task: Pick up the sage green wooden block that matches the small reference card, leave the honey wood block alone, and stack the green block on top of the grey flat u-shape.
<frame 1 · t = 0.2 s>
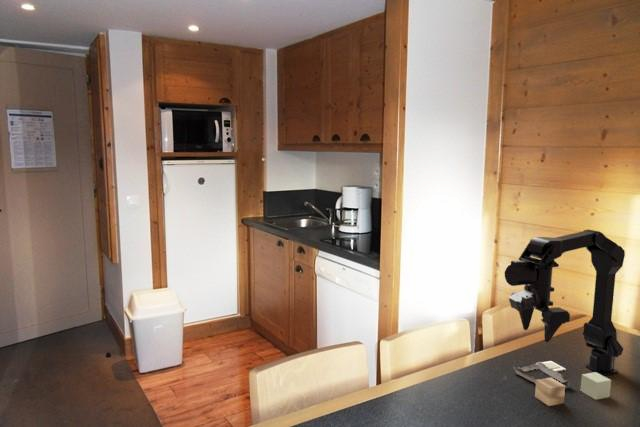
hand: (535, 335, 139), 14 cm above the table, tool pointing down, fingers open, 9 cm apart
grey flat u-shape: (541, 381, 143), on the table
sage block: (594, 394, 135), on the table
reference card: (550, 367, 152), on the table
honey block: (549, 400, 131), on the table
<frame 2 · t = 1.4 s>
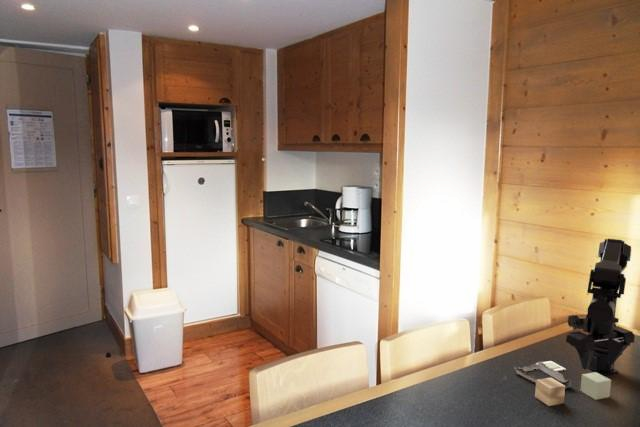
hand: (597, 367, 134), 8 cm above the table, tool pointing down, fingers open, 9 cm apart
nothing on the table moved.
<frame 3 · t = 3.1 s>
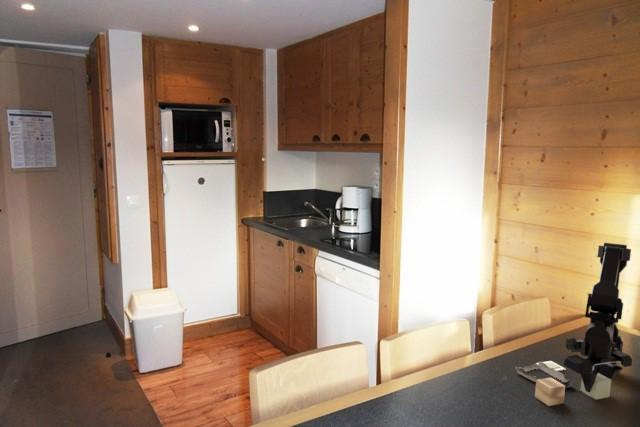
hand: (595, 390, 135), 1 cm above the table, tool pointing down, fingers closed on sage block, 5 cm apart
sage block: (594, 393, 135), on the table, touching gripper
everything else where it was.
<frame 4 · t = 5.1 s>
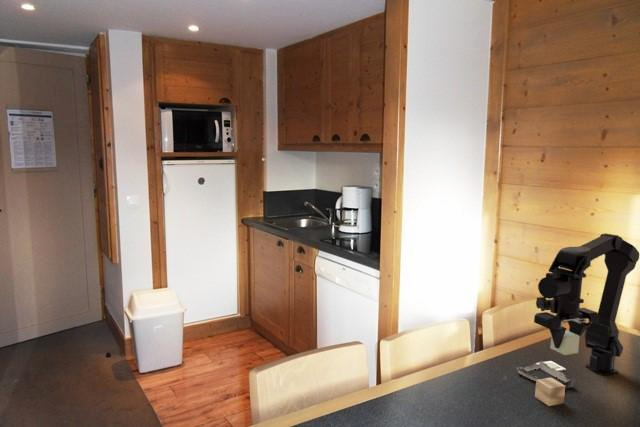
hand: (564, 346, 138), 11 cm above the table, tool pointing down, fingers closed on sage block, 5 cm apart
sage block: (564, 350, 139), point 10 cm above the table, touching gripper
everything else where it was.
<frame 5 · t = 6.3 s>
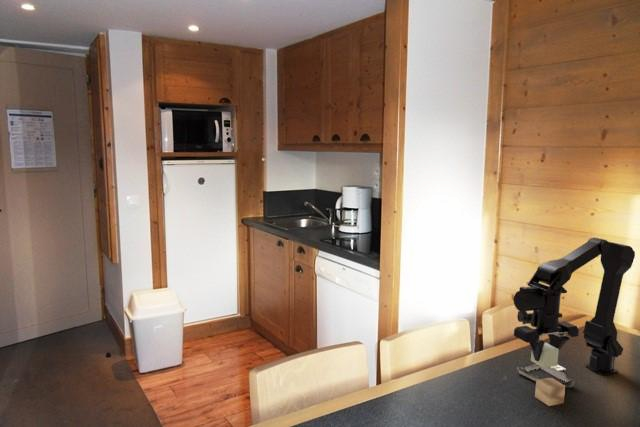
hand: (544, 359, 142), 6 cm above the table, tool pointing down, fingers closed on sage block, 5 cm apart
sage block: (543, 363, 142), point 5 cm above the table, touching gripper
when the fingers open (5 cm above the table, at t = 7.2 s): sage block drops 2 cm, point 2 cm above the table.
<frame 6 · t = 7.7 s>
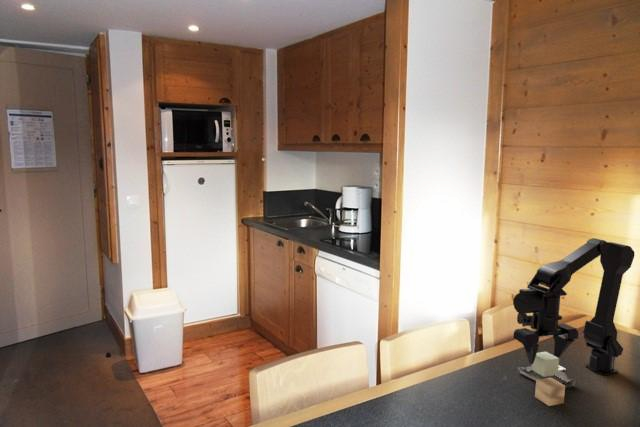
hand: (543, 361, 142), 5 cm above the table, tool pointing down, fingers open, 9 cm apart
sage block: (544, 372, 143), point 2 cm above the table
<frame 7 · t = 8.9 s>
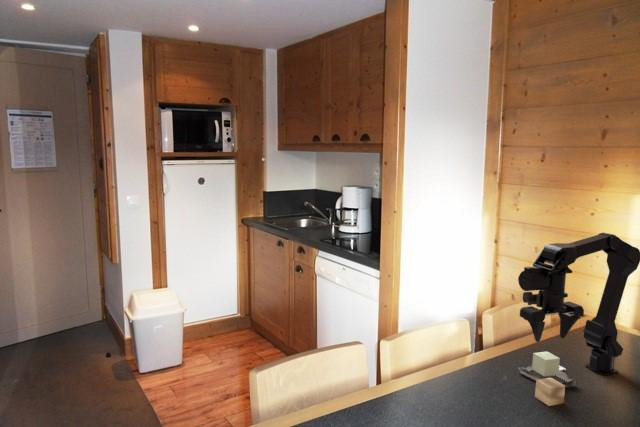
hand: (549, 339, 143), 12 cm above the table, tool pointing down, fingers open, 9 cm apart
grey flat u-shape: (546, 381, 144), on the table, touching sage block
sage block: (544, 371, 143), point 2 cm above the table, touching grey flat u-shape
everything else where it was.
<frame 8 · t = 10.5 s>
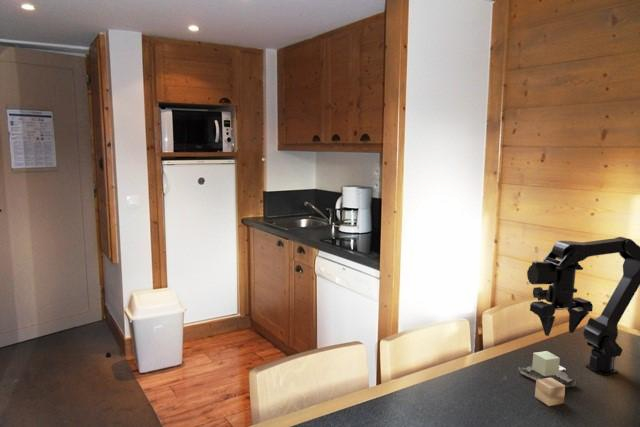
hand: (558, 334, 147), 12 cm above the table, tool pointing down, fingers open, 9 cm apart
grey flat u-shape: (546, 381, 144), on the table
sage block: (545, 371, 143), point 2 cm above the table
everything else where it was.
at the end: sage block inside the target area on the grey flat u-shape (0.7 cm from its centre), point 3.0 cm above the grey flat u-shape's base; sage block tilted 0°; honey block moved 0.1 cm from its start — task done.
